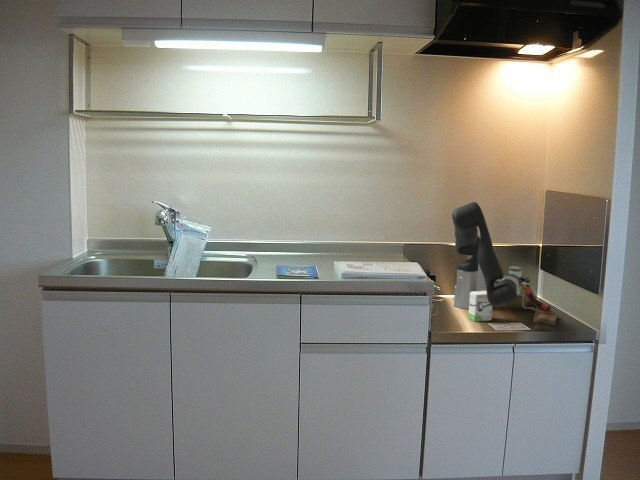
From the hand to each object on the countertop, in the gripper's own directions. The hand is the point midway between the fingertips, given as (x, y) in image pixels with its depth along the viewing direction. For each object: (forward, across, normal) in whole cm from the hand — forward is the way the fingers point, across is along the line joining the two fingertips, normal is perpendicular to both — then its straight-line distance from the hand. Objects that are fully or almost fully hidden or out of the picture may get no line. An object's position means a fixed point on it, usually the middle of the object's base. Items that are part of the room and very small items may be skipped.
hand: (515, 276), depth 227 cm
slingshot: (+20, -5, +19) cm, 28 cm away
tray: (+5, -13, +18) cm, 23 cm away
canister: (-3, 0, +6) cm, 7 cm away
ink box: (-9, +12, +18) cm, 24 cm away
